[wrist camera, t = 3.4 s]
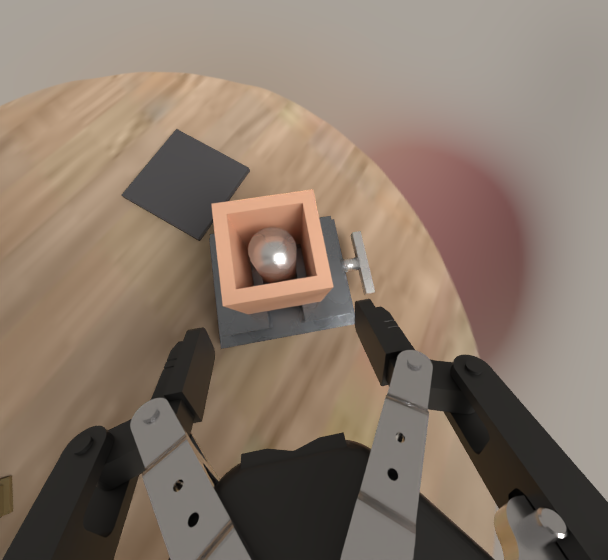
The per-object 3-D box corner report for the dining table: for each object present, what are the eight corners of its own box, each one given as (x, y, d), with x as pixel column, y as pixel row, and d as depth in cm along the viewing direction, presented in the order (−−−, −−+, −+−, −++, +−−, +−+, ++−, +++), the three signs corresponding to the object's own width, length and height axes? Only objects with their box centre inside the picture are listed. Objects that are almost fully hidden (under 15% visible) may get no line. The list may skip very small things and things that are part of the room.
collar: (247, 314, 20) (222, 306, 13) (238, 244, 21) (211, 203, 14) (320, 301, 20) (333, 286, 13) (307, 234, 22) (313, 189, 15)
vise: (225, 347, 24) (171, 360, 13) (214, 243, 26) (159, 186, 15) (370, 320, 25) (423, 314, 14) (347, 222, 27) (379, 156, 16)
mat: (124, 197, 26) (121, 195, 26) (178, 132, 28) (176, 128, 28) (199, 240, 26) (197, 239, 25) (249, 170, 28) (249, 168, 27)
